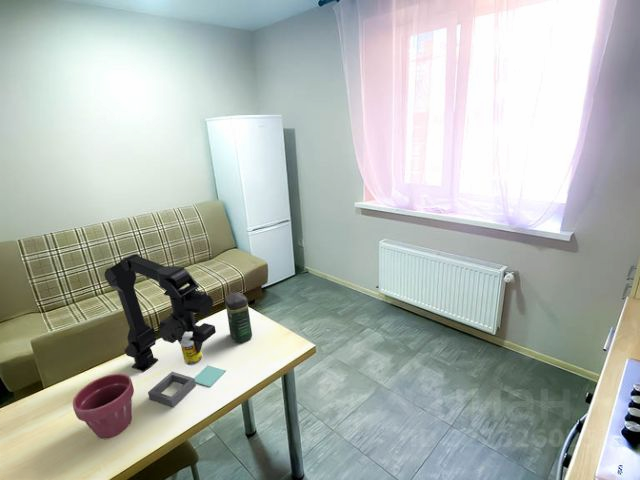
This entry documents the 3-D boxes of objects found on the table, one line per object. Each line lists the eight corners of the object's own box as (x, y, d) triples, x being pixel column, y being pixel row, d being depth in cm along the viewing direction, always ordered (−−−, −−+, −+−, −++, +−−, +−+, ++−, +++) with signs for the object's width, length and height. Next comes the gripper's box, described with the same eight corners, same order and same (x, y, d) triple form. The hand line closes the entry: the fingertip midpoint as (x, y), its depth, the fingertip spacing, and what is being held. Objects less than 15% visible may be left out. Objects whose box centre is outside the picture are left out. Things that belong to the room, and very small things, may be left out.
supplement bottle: (186, 368, 107) (180, 341, 103) (183, 359, 111) (177, 333, 108) (204, 361, 109) (199, 335, 106) (200, 353, 114) (195, 327, 110)
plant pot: (118, 401, 107) (108, 368, 103) (152, 412, 102) (142, 378, 98) (73, 439, 94) (59, 403, 90) (109, 454, 89) (95, 417, 85)
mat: (191, 381, 113) (191, 380, 113) (207, 366, 120) (207, 365, 120) (210, 387, 110) (210, 386, 110) (225, 371, 117) (225, 370, 117)
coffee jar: (255, 338, 134) (249, 297, 128) (236, 346, 130) (229, 304, 124) (246, 327, 142) (240, 288, 136) (228, 334, 138) (221, 294, 132)
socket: (149, 399, 107) (147, 392, 106) (173, 378, 115) (172, 371, 114) (173, 408, 103) (171, 400, 102) (196, 385, 111) (194, 378, 110)
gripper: (138, 316, 101) (150, 359, 106) (184, 328, 93) (195, 373, 98) (168, 298, 110) (178, 338, 115) (212, 308, 103) (220, 350, 108)
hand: (191, 350), depth 109 cm, fingers closed on supplement bottle, 5 cm apart
